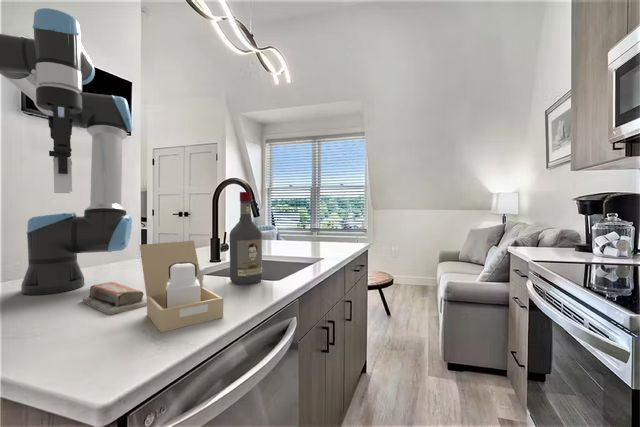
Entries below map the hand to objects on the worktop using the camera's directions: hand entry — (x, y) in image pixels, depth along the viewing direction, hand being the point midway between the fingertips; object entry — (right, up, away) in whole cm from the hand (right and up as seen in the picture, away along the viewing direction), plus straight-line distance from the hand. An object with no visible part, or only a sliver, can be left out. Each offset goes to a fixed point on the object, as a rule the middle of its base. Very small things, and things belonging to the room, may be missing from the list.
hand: (62, 192), depth 68 cm
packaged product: (0, -29, +17) cm, 34 cm away
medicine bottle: (+22, -28, +7) cm, 37 cm away
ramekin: (+11, -28, +36) cm, 47 cm away
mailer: (+21, -28, +10) cm, 36 cm away
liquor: (+30, -27, +41) cm, 57 cm away
